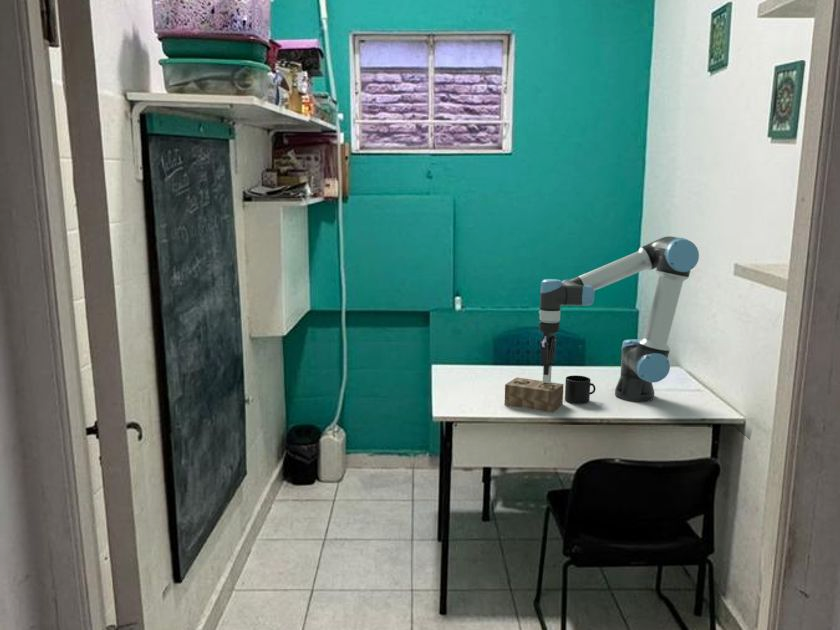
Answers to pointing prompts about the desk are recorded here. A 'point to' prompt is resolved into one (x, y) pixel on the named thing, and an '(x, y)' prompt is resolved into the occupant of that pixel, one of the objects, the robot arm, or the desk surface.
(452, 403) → the desk surface
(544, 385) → the peg
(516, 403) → the walnut block
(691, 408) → the desk surface
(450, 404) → the desk surface
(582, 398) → the mug
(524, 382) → the peg
